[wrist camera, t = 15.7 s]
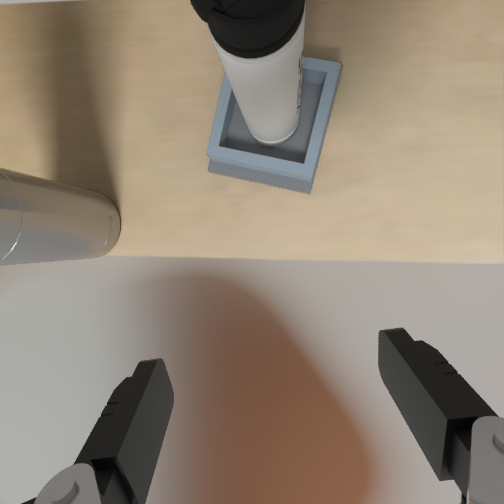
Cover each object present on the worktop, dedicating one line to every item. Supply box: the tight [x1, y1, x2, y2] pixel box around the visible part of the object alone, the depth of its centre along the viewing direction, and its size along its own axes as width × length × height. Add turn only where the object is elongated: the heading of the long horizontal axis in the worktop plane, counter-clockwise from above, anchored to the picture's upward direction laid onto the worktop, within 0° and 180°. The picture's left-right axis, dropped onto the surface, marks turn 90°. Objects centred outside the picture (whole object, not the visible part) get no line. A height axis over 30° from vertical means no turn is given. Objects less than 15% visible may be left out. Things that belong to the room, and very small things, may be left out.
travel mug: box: [190, 0, 306, 146], centre depth 24 cm, size 6×7×20 cm
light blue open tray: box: [206, 57, 343, 194], centre depth 34 cm, size 13×15×4 cm
